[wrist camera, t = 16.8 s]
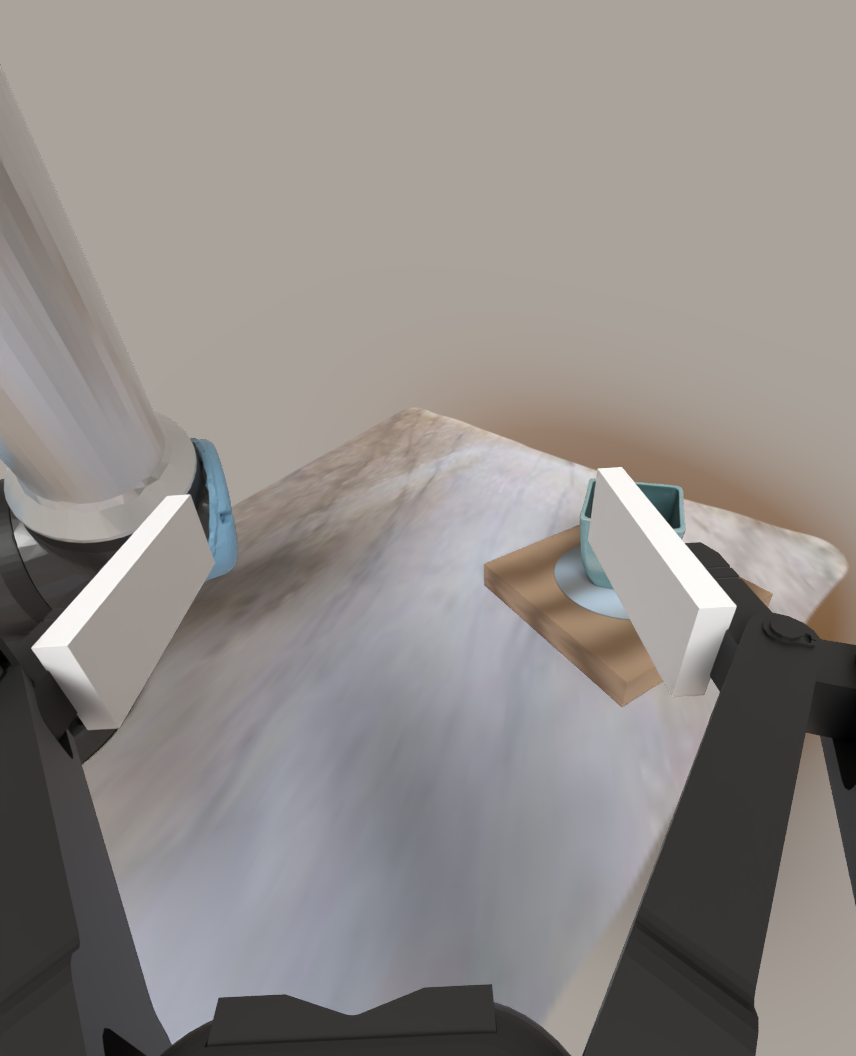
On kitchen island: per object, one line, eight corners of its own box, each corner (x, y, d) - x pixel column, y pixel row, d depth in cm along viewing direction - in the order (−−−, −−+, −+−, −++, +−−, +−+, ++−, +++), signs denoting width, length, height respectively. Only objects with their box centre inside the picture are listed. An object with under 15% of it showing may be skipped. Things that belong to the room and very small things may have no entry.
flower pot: (570, 594, 49) (579, 517, 45) (581, 547, 56) (590, 476, 51) (666, 612, 46) (686, 531, 42) (665, 560, 53) (683, 485, 48)
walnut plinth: (484, 584, 57) (484, 562, 55) (609, 531, 64) (612, 510, 63) (622, 706, 41) (627, 681, 40) (763, 617, 49) (773, 592, 48)
